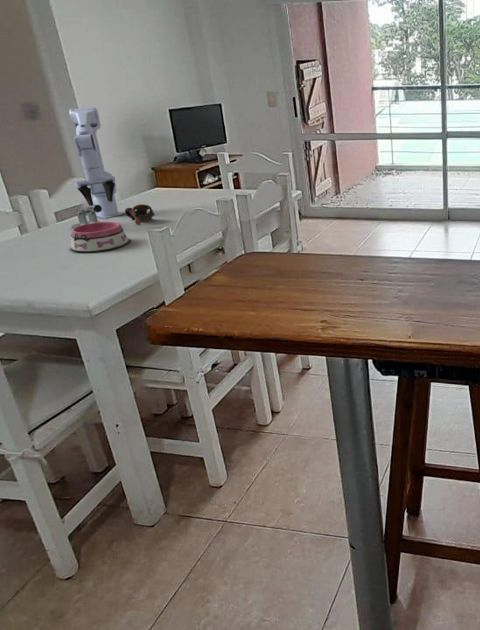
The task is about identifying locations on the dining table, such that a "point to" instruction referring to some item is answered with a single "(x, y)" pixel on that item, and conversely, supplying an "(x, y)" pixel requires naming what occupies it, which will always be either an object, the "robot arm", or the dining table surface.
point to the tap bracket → (83, 217)
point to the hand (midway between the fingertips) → (100, 203)
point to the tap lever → (96, 208)
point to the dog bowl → (98, 237)
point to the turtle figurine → (139, 213)
